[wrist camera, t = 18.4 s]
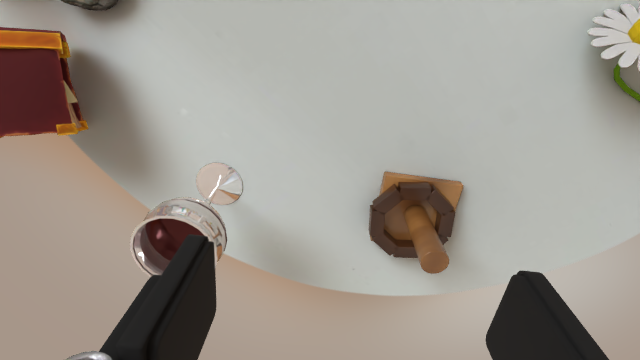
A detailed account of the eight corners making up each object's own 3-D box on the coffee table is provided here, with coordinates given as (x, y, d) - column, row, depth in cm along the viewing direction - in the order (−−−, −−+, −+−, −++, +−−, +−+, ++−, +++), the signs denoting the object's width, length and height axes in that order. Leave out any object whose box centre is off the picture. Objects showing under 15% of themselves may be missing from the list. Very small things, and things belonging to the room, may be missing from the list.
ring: (455, 182, 36) (459, 188, 35) (443, 250, 39) (447, 258, 38) (371, 181, 36) (373, 187, 35) (367, 249, 40) (368, 257, 38)
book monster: (84, 146, 30) (94, 117, 40) (58, 29, 26) (76, 29, 36) (-92, 162, 25) (-32, 125, 35) (-151, 22, 22) (-66, 24, 32)
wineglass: (212, 141, 36) (160, 197, 25) (264, 184, 38) (236, 253, 27) (175, 184, 38) (112, 253, 27) (225, 222, 40) (185, 301, 29)
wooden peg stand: (460, 181, 37) (496, 229, 29) (439, 244, 40) (466, 303, 32) (384, 171, 37) (399, 216, 29) (369, 235, 40) (379, 292, 32)
